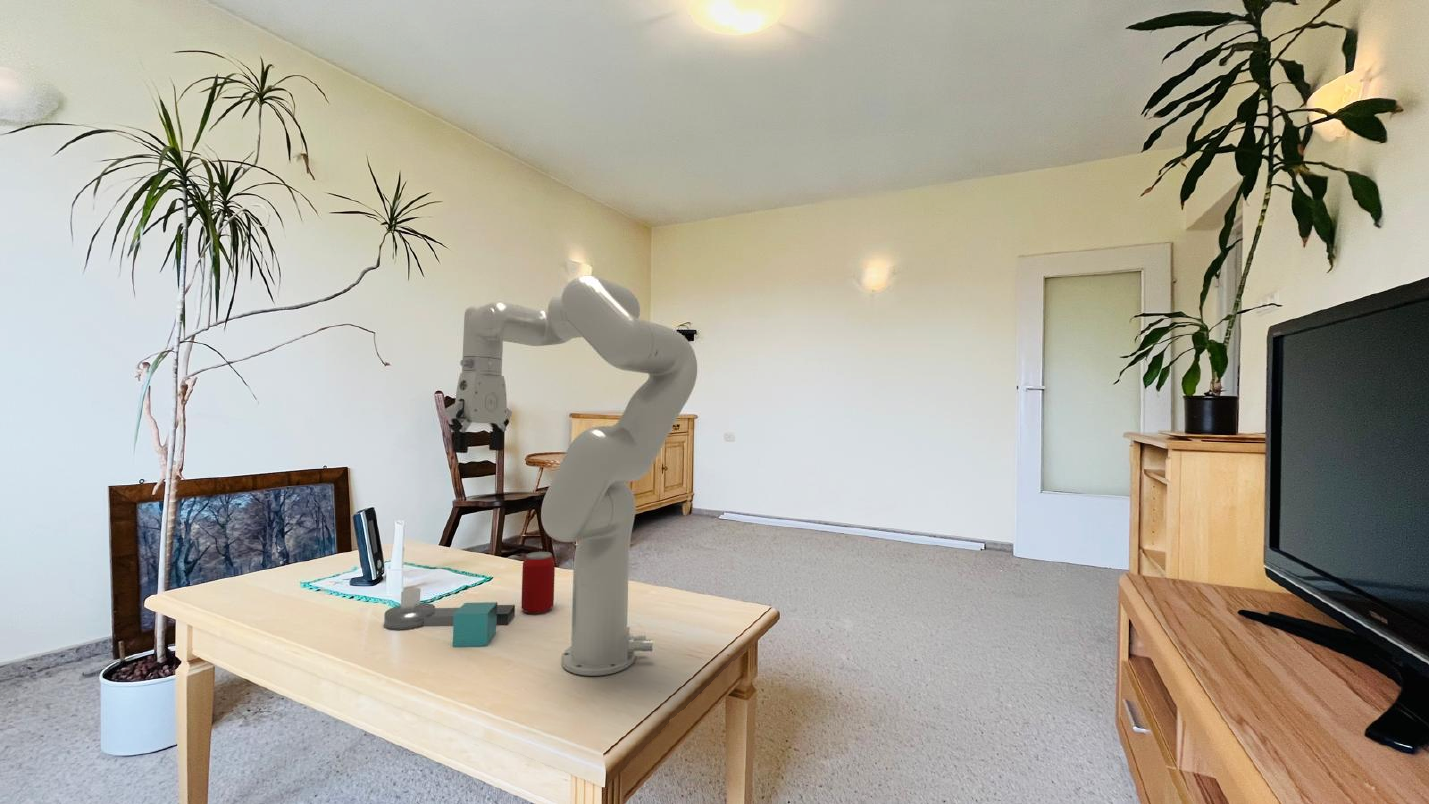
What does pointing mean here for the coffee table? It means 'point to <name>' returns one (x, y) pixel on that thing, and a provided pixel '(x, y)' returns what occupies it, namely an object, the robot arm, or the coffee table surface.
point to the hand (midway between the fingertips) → (478, 451)
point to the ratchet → (430, 613)
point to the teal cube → (474, 624)
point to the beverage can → (538, 582)
